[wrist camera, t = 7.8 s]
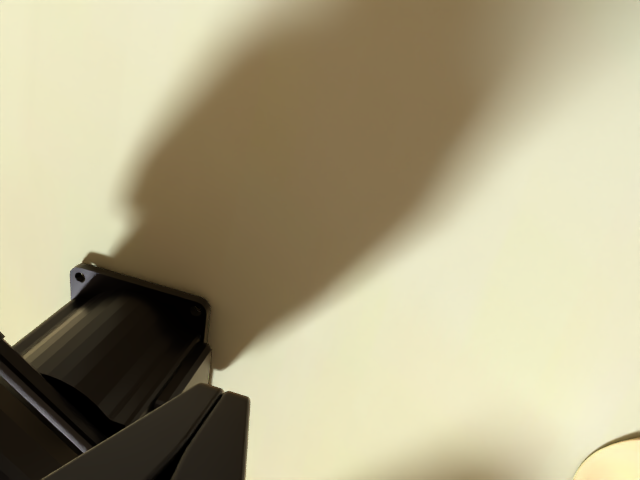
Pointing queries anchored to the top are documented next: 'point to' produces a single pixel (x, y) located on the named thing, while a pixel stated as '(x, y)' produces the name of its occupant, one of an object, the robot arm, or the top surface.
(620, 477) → the beer glass
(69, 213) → the top surface
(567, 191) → the top surface
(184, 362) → the robot arm
